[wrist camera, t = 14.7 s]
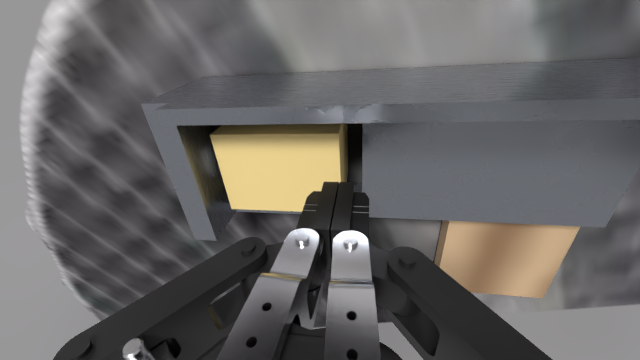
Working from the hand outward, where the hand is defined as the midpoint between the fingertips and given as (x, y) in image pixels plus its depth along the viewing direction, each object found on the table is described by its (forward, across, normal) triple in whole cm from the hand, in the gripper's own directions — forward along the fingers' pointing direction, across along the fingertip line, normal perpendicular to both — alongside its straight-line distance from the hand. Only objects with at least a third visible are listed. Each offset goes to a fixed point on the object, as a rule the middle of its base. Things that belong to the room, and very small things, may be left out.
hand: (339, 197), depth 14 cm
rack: (+6, -3, 0) cm, 7 cm away
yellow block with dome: (+4, 0, 0) cm, 4 cm away
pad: (+6, -11, +8) cm, 15 cm away
